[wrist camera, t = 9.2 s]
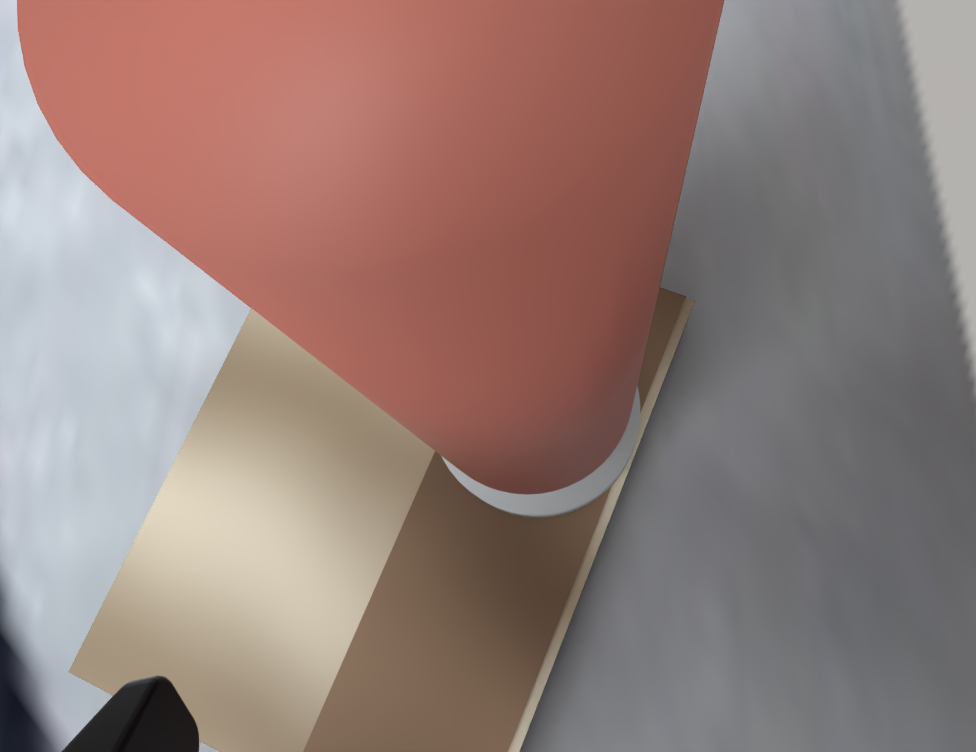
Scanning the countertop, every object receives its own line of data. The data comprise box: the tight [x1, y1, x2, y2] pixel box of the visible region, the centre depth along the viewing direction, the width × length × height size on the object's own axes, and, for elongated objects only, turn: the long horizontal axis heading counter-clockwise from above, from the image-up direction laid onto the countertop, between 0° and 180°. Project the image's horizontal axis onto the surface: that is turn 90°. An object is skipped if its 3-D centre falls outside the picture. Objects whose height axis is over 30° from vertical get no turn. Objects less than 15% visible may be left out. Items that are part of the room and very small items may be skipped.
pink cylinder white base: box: [17, 0, 724, 518], centre depth 10 cm, size 4×4×13 cm
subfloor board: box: [69, 287, 695, 752], centre depth 17 cm, size 12×9×1 cm
